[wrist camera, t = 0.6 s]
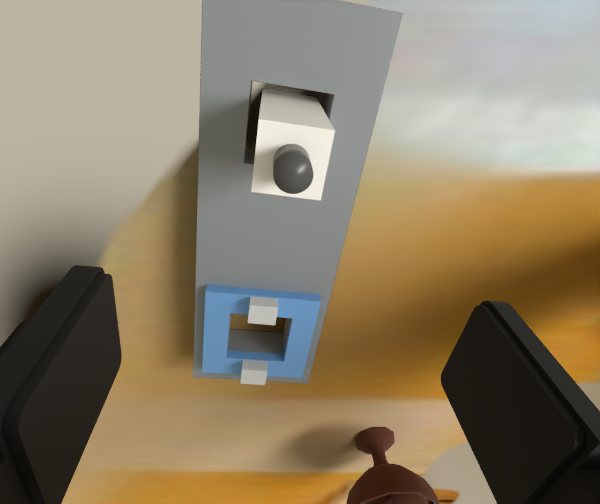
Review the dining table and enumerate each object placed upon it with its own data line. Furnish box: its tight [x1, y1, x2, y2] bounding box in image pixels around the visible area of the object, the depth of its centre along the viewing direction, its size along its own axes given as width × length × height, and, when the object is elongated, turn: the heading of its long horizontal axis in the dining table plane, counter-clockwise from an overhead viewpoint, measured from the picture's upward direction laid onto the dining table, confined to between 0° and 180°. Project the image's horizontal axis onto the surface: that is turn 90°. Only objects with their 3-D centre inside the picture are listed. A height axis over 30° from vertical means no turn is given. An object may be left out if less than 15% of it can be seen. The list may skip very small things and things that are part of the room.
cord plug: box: [251, 88, 335, 201], centre depth 24 cm, size 4×4×12 cm
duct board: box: [193, 0, 403, 385], centre depth 31 cm, size 12×34×5 cm, turn 171°
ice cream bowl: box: [347, 427, 439, 504], centre depth 45 cm, size 11×11×15 cm
